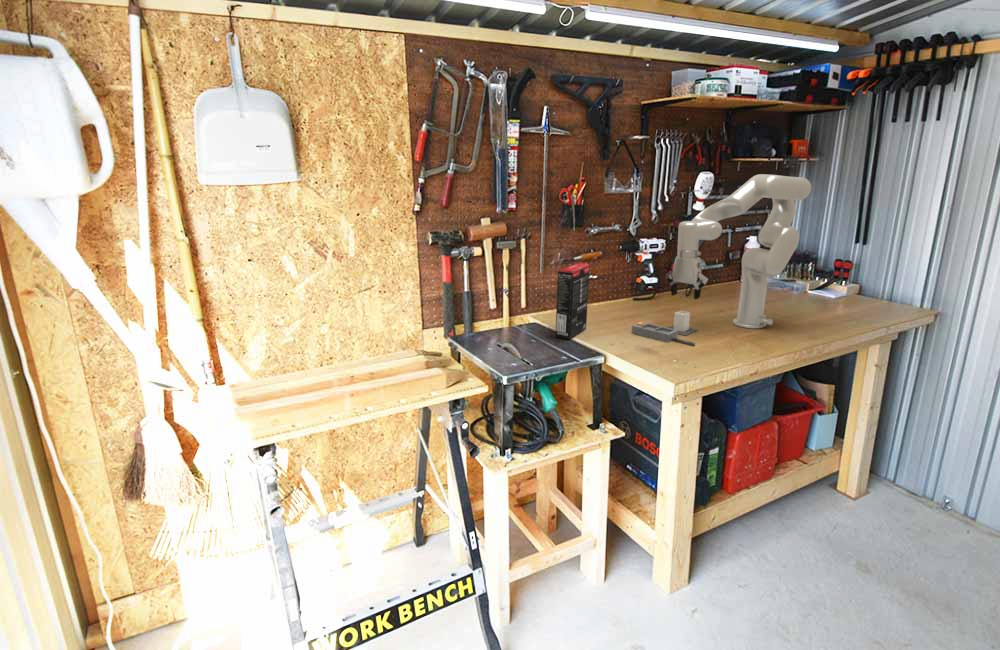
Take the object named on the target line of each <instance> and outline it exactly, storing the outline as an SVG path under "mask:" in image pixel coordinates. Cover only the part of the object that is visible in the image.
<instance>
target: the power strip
mask: <svg viewBox="0 0 1000 650" xmlns="http://www.w3.org/2000/svg"><path fill="white" fill-rule="evenodd" d="M632 333H634V334H633V335H636V334H638V335H637V336H640V335H641V337H644V336H645V337H644V338H648V337H649V339H652V340H656V341H660V342H664V343H668V344H669V343H670V342H672V341H673V342H677V343H680V344H683V345H688V346H693V347H694V346H696V342H693V341H688V340H686V339H685V340H684V339H680V338H678V336H679V334H678V330H674V329H670V328H668V327H665V326H661V325H656V324H652V323H649V322H644V321H638V322H636V324H633V325H631V334H632Z"/></svg>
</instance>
